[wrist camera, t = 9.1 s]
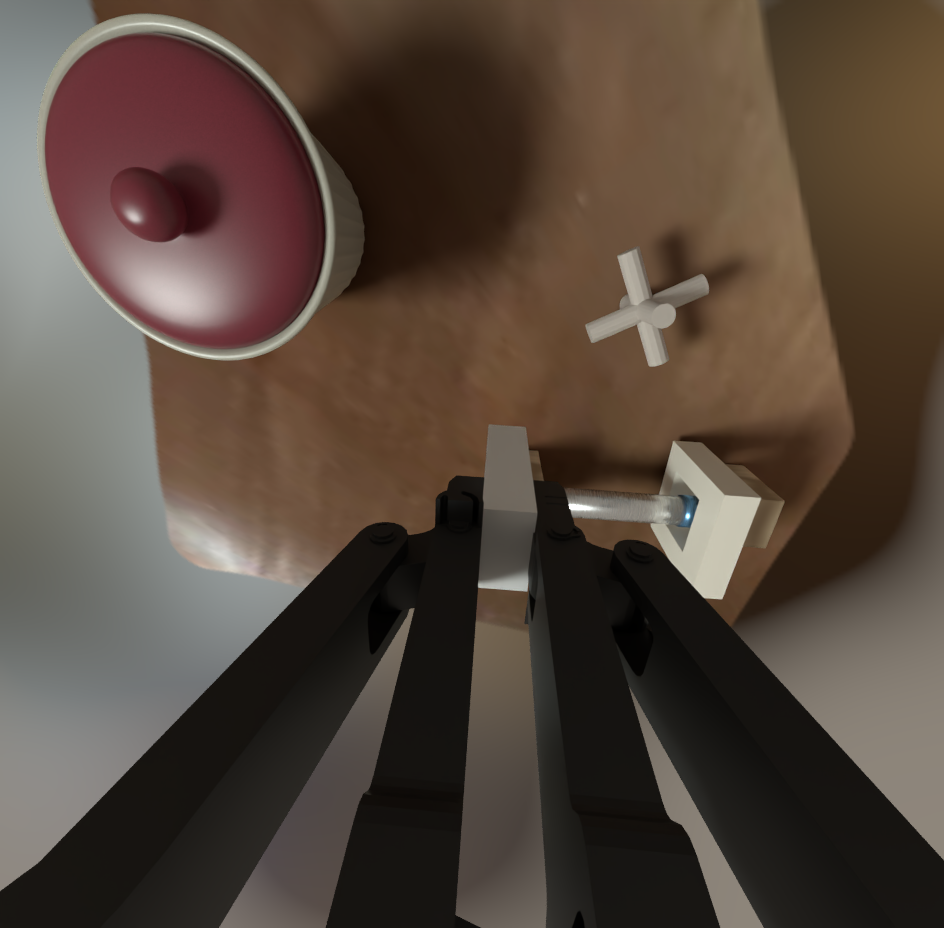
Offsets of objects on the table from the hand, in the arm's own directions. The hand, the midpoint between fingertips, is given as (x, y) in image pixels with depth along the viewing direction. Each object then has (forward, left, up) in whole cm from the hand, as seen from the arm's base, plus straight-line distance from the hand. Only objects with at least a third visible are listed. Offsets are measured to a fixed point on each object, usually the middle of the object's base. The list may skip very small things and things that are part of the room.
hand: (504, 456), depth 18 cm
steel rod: (+15, +15, -25) cm, 32 cm away
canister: (-9, -20, -30) cm, 37 cm away
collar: (+15, +21, -28) cm, 38 cm away
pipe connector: (-4, +12, -30) cm, 32 cm away
